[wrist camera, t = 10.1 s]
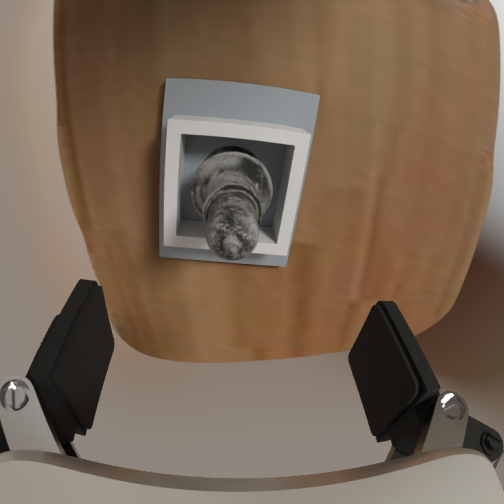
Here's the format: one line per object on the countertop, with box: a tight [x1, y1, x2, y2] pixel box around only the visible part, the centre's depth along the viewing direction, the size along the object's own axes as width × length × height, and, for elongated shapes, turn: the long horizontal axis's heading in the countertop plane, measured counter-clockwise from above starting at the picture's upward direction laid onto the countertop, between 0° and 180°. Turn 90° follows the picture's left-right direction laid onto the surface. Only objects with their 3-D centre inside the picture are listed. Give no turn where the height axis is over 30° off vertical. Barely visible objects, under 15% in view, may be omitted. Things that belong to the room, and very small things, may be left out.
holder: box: [159, 78, 320, 267], centre depth 24 cm, size 16×12×4 cm
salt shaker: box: [191, 146, 273, 261], centre depth 20 cm, size 6×6×12 cm
